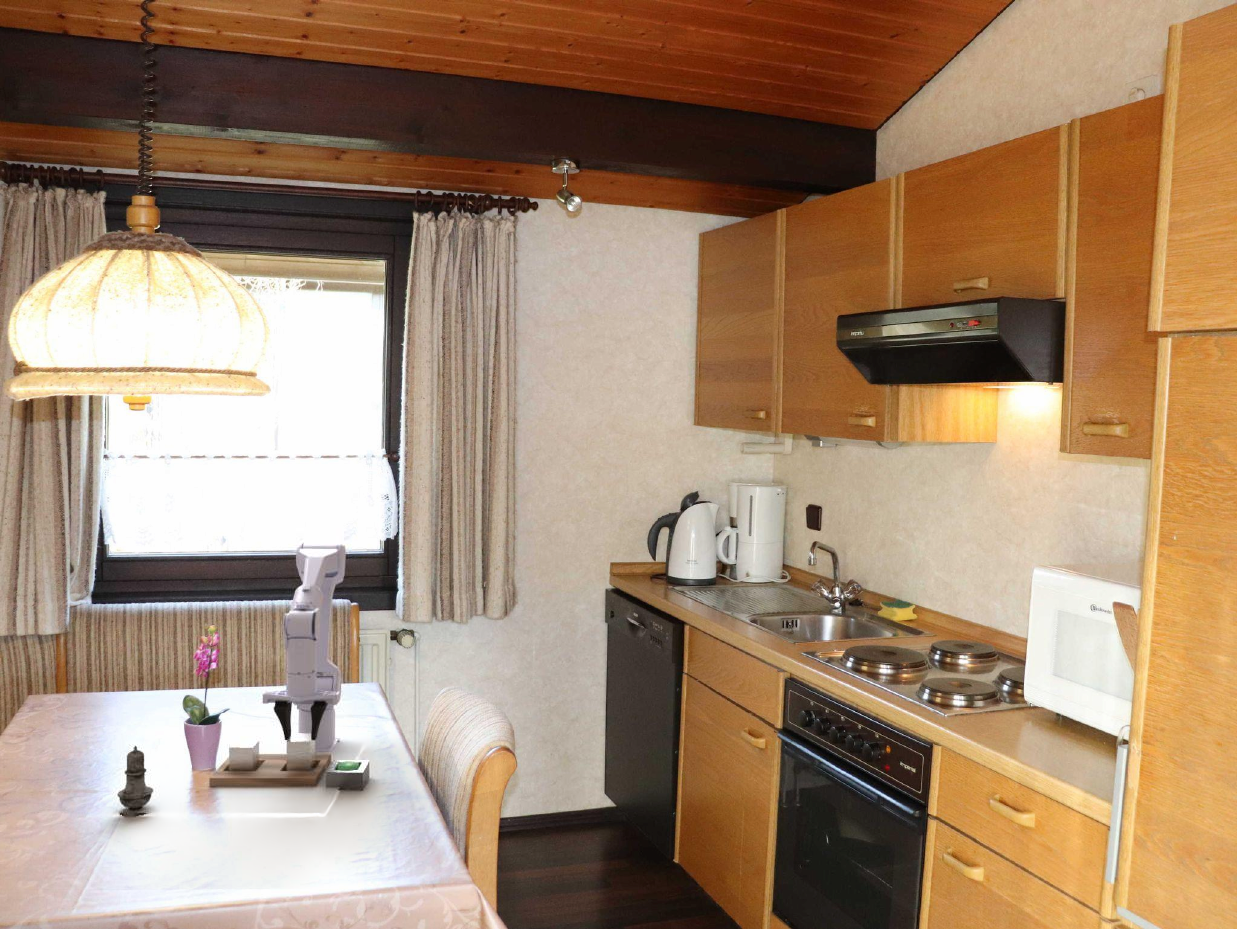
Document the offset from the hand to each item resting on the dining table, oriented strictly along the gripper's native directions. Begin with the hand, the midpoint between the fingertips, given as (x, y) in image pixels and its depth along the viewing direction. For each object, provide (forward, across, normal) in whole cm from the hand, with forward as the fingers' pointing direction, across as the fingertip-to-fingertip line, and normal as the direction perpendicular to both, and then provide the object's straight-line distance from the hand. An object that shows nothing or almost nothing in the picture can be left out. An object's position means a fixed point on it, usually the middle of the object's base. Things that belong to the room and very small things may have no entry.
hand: (301, 738), depth 209 cm
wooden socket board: (+8, -6, 0) cm, 9 cm away
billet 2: (+6, 0, 0) cm, 6 cm away
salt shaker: (+8, -25, -18) cm, 32 cm away
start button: (+7, +10, -4) cm, 13 cm away
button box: (+8, +10, -4) cm, 13 cm away
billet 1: (+7, -11, 0) cm, 13 cm away
